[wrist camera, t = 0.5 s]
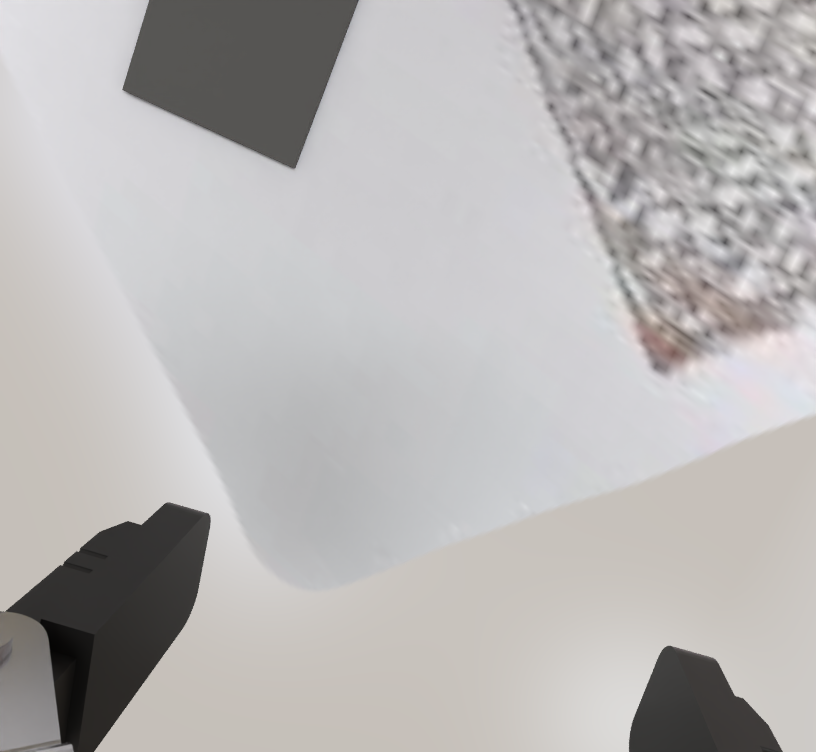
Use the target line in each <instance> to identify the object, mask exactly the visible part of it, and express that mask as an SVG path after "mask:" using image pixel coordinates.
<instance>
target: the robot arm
mask: <svg viewBox="0 0 816 752" xmlns="http://www.w3.org/2000/svg"><path fill="white" fill-rule="evenodd" d="M209 529H210V515H209V514H208V513H204V512H201V511H198V510H194V509H190V508H187V507H183V506H180V505H176V504H173V503H165V504H164V505H163V506H162V507H161V508H160V509H159V510H158V511H156V512H155V513H154V514H153V515H152V516H151V517H150V518H149V519H148V520H147V521H146V522H144V523H143V524H142V525H139V524H136V523H132V522H129V521H127V522H124V523H122V524H119V525H117V526H114V527H111V528H109V529H106V530H103V531H101V532H99V533H98V534H97V535H96V536H94V537H93V538H92V539H91V540H90V541H88V542H87V543H86V544H85V545H84V546H83V547H81V548H80V551H79V552H75V553H74V554H73V555H72V556H71V557H69V558H68V559H67V560H66V561H65V562H64V564H63V566H61V565H60V566H59V567H57V568H56V569H55V570H54V571H53V572H52V573H50V574H49V575H48V576H47V577H46V578H45V579H43V580H42V581H41V582H40V583H39V584H37V585H36V586H35V587H34V588H33V589H31V590H30V591H29V592H28V593H27V594H25V595H24V596H23V597H22V598H21V599H20V600H18V601H17V602H16V603H15V604H14V605H12V606H11V607H10V608H9V609H8V610H6V611H5V612H1V611H0V752H94V751H95V750H96V748H97V747H98V745H99V744H100V743H101V741H102V740H103V738H104V737H105V736H106V734H107V733H108V731H109V730H110V729H111V727H112V726H113V725H114V723H115V722H116V720H117V719H118V718H119V716H120V715H121V714H122V712H123V711H124V709H125V708H126V707H127V705H128V704H129V702H130V701H131V700H132V698H133V697H134V695H135V694H136V693H137V691H138V690H139V688H140V687H141V686H142V684H143V683H144V681H145V680H146V679H147V677H148V676H149V674H150V673H151V672H152V670H153V669H154V668H155V666H156V665H157V663H158V662H159V661H160V659H161V658H162V656H163V655H164V654H165V652H166V651H167V650H168V648H169V647H170V645H171V644H172V643H173V641H174V640H175V638H176V637H177V636H178V634H179V633H180V632H181V630H182V629H183V627H184V625H185V624H186V622H187V620H188V618H189V616H190V614H191V611H192V609H193V606H194V603H195V600H196V597H197V593H198V588H199V583H200V577H201V572H202V567H203V561H204V556H205V551H206V546H207V540H208V535H209ZM629 752H783V751H782V750H781V748H780V746H779V744H778V742H777V740H776V739H775V737H774V735H773V733H772V731H771V729H770V728H769V726H768V724H767V723H766V722H764V720H763V719H762V718H761V717H760V716H759V715H758V714H757V713H756V712H755V711H754V710H753V708H752V707H751V706H750V705H749V704H748V703H747V702H746V701H745V700H744V699H743V698H739V697H736V696H735V695H734V694H733V692H732V690H731V688H730V686H729V684H728V682H727V680H726V678H725V676H724V674H723V672H722V670H721V668H720V666H719V664H718V662H717V661H716V660H715V659H714V658H711V657H708V656H704V655H701V654H697V653H693V652H690V651H686V650H683V649H679V648H676V647H672V646H667V647H665V648H664V649H663V650H662V652H661V653H660V655H659V657H658V659H657V662H656V664H655V667H654V669H653V672H652V675H651V677H650V680H649V682H648V684H647V687H646V689H645V692H644V694H643V697H642V699H641V702H640V704H639V707H638V709H637V712H636V714H635V717H634V720H633V723H632V727H631V731H630V740H629Z"/></svg>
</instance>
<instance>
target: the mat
mask: <svg viewBox="0 0 816 752" xmlns="http://www.w3.org/2000/svg"><path fill="white" fill-rule="evenodd" d="M357 3H358V0H149V3H148V7H147V10H146V13H145V17H144V20H143V23H142V27H141V30H140V33H139V36H138V40H137V43H136V46H135V50H134V53H133V56H132V60H131V63H130V66H129V70H128V73H127V76H126V79H125V83H124V86H123V89H122V90H124V91H126V92H128V93H130V94H133V95H135V96H137V97H139V98H141V99H144V100H146V101H148V102H150V103H152V104H155V105H157V106H159V107H161V108H163V109H166V110H168V111H170V112H172V113H174V114H177V115H179V116H181V117H183V118H185V119H187V120H190V121H192V122H194V123H196V124H198V125H201V126H203V127H205V128H207V129H209V130H212V131H214V132H216V133H218V134H220V135H223V136H225V137H227V138H229V139H231V140H233V141H236V142H238V143H240V144H242V145H244V146H247V147H249V148H251V149H253V150H255V151H258V152H260V153H262V154H264V155H266V156H269V157H271V158H273V159H275V160H277V161H280V162H282V163H284V164H286V165H288V166H290V167H293V168H295V167H296V164H297V162H298V159H299V156H300V154H301V151H302V149H303V146H304V143H305V141H306V138H307V135H308V133H309V130H310V127H311V125H312V122H313V119H314V117H315V114H316V111H317V109H318V106H319V103H320V101H321V98H322V96H323V93H324V90H325V88H326V85H327V82H328V80H329V77H330V74H331V72H332V69H333V66H334V64H335V61H336V58H337V56H338V53H339V50H340V48H341V45H342V42H343V40H344V37H345V35H346V32H347V29H348V27H349V24H350V21H351V19H352V16H353V13H354V11H355V8H356V5H357Z"/></svg>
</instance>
